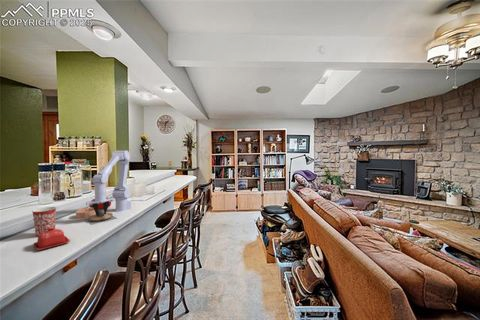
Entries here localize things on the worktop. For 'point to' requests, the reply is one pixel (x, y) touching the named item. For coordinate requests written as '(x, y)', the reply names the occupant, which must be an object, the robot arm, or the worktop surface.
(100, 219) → the lid
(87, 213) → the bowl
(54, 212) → the mug
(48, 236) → the butter dish
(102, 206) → the tomato
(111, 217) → the mat
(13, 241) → the worktop surface
